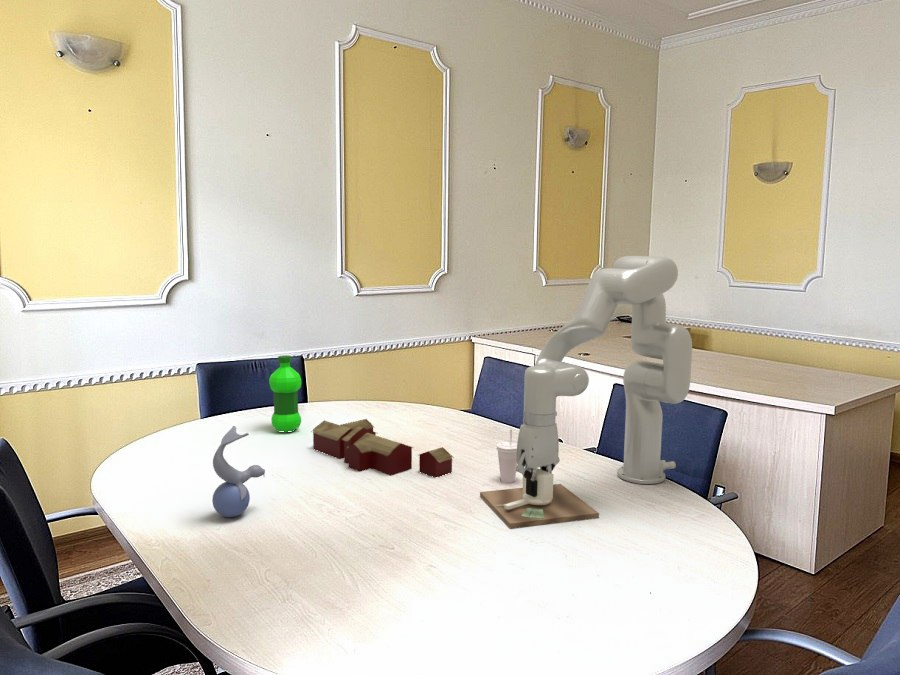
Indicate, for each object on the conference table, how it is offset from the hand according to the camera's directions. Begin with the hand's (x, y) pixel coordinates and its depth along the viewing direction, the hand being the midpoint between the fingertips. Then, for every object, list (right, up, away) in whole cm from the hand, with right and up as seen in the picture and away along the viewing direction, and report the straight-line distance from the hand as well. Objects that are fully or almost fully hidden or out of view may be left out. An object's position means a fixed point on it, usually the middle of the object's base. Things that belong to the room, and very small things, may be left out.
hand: (537, 492), depth 166 cm
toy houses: (-41, +1, +34) cm, 53 cm away
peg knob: (-3, -2, -2) cm, 4 cm away
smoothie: (-6, -1, +19) cm, 19 cm away
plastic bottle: (-75, +6, +64) cm, 98 cm away
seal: (-69, -4, -5) cm, 70 cm away
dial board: (0, -4, +1) cm, 4 cm away
